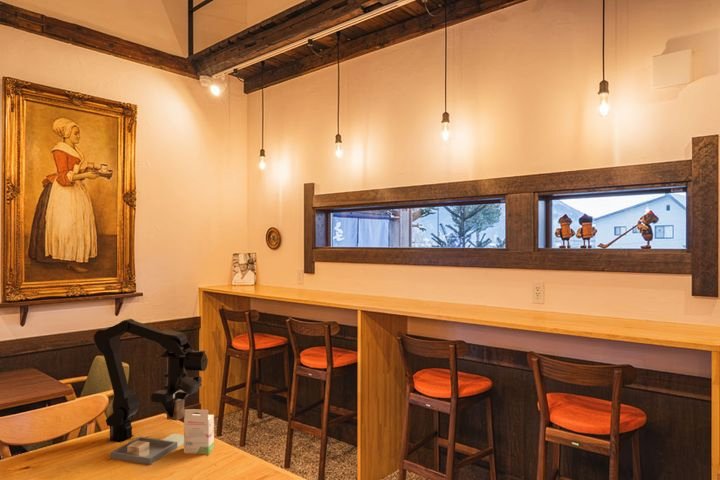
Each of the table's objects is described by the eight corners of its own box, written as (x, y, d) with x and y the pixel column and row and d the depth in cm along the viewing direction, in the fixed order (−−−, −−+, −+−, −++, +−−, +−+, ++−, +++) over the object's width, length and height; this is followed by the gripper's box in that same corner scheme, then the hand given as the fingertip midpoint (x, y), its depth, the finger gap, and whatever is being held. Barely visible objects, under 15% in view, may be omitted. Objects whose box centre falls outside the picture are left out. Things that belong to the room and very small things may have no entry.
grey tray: (110, 460, 154) (110, 452, 154) (139, 443, 166) (139, 436, 166) (150, 466, 149) (150, 458, 149) (177, 449, 162) (177, 441, 162)
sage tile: (155, 445, 165) (155, 443, 165) (172, 435, 174) (172, 433, 174) (178, 448, 162) (178, 447, 162) (194, 438, 171) (194, 436, 171)
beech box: (127, 458, 153) (127, 446, 153) (137, 452, 158) (137, 440, 158) (139, 460, 152) (139, 447, 152) (149, 454, 156) (149, 442, 156)
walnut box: (176, 420, 165) (176, 402, 165) (166, 419, 167) (166, 401, 167) (184, 416, 169) (184, 399, 169) (174, 415, 170) (174, 397, 170)
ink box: (214, 449, 162) (215, 405, 162) (208, 456, 157) (208, 410, 157) (189, 448, 163) (190, 404, 163) (182, 454, 158) (183, 409, 158)
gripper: (178, 379, 157) (178, 427, 157) (211, 365, 175) (211, 408, 175) (149, 376, 160) (149, 423, 160) (185, 362, 178) (184, 405, 178)
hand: (175, 415), depth 168 cm, fingers closed on walnut box, 4 cm apart
